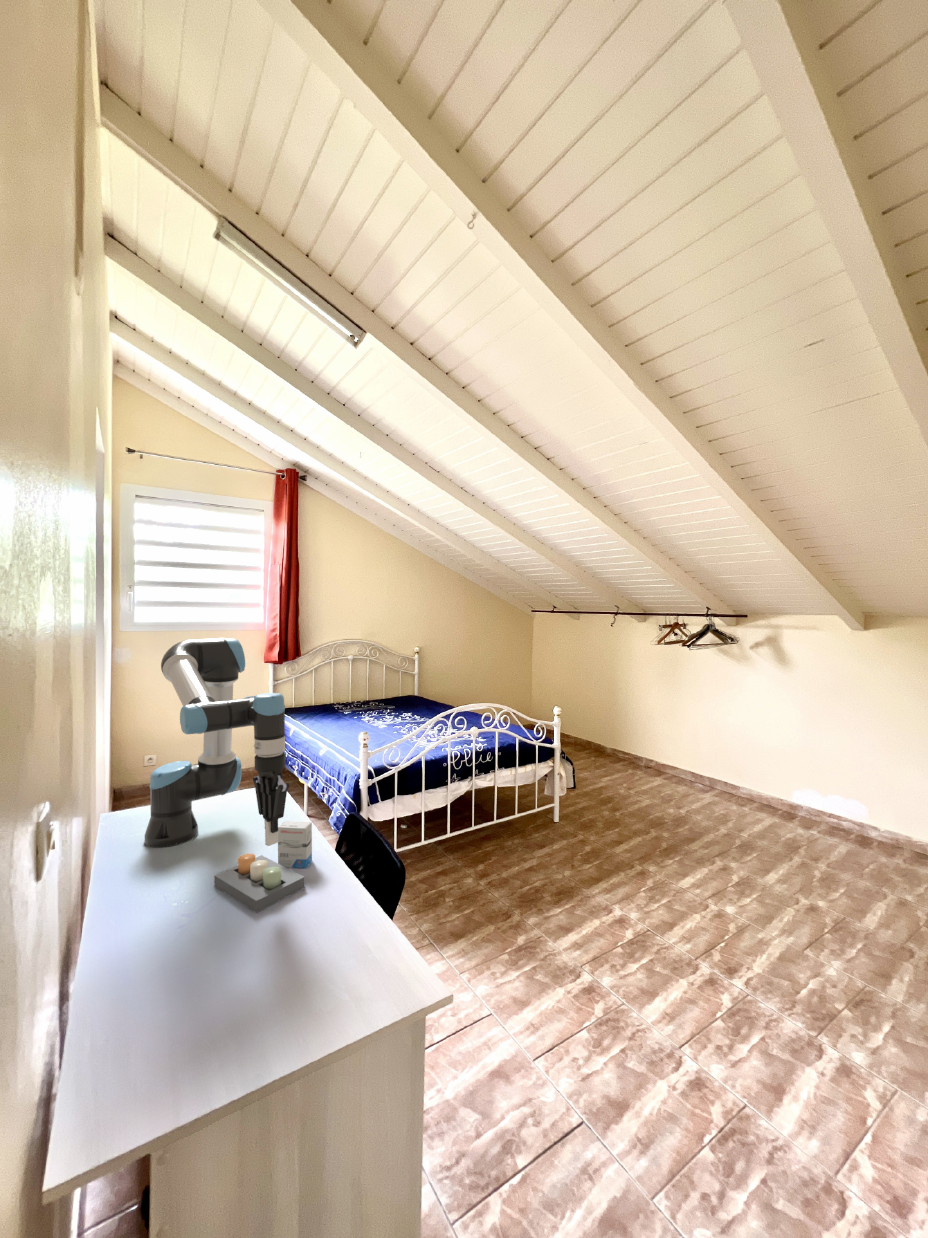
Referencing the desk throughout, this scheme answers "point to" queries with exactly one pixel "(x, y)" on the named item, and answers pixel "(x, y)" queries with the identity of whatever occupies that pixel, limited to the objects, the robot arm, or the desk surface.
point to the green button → (271, 878)
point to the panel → (258, 886)
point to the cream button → (258, 870)
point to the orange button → (245, 863)
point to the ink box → (295, 844)
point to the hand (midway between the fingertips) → (271, 843)
